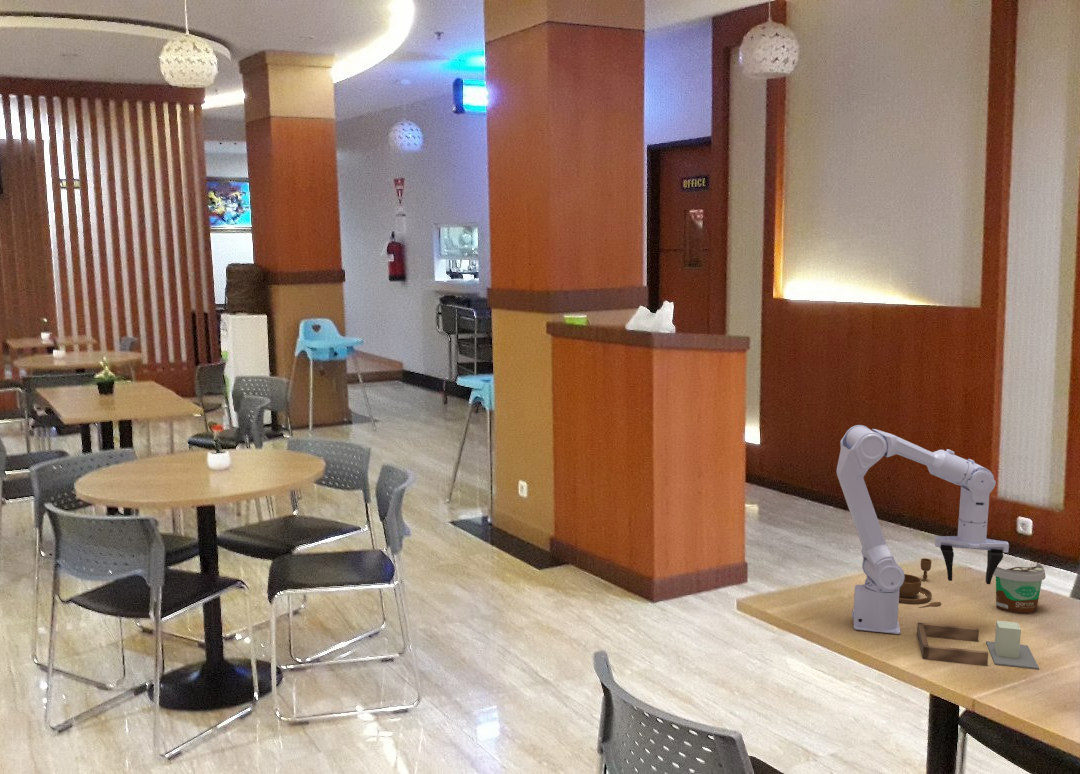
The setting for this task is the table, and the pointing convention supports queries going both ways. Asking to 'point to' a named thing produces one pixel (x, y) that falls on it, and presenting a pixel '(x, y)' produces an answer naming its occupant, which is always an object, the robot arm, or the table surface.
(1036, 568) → the food container
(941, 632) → the open side box
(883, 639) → the table surface
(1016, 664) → the mat
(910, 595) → the place setting
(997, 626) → the sage block
